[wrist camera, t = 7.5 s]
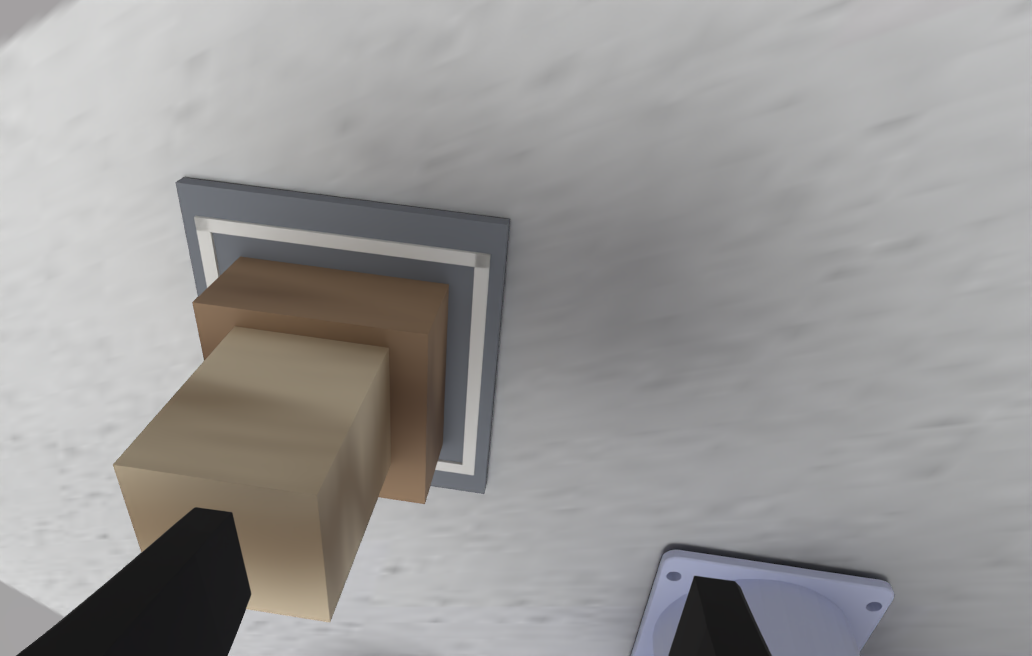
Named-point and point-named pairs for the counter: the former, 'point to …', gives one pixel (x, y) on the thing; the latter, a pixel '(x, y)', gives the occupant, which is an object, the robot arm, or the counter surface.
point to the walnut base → (357, 319)
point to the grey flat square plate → (381, 251)
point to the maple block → (272, 460)
